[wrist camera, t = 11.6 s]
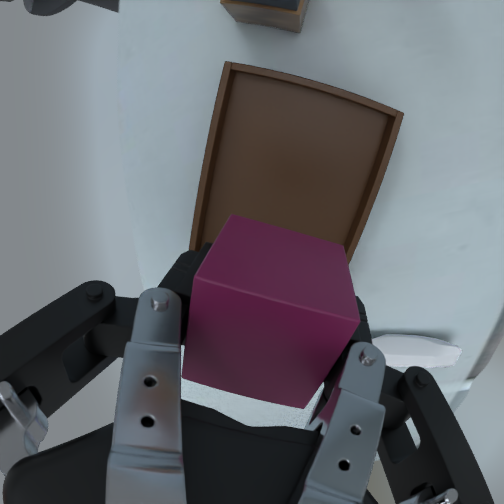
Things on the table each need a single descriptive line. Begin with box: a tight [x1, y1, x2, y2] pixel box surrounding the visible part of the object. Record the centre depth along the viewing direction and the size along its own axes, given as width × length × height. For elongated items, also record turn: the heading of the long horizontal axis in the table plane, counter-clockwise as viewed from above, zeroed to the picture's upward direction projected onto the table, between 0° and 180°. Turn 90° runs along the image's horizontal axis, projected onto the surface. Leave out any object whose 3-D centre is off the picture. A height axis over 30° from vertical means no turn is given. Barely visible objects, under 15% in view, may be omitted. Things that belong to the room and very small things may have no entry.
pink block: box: [182, 214, 360, 409], centre depth 10 cm, size 4×4×4 cm
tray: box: [189, 61, 404, 265], centre depth 25 cm, size 14×18×3 cm
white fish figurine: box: [372, 334, 462, 368], centre depth 30 cm, size 6×18×4 cm, turn 89°
